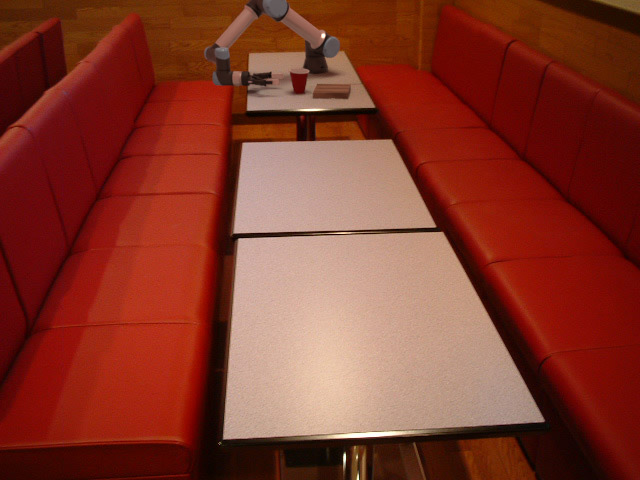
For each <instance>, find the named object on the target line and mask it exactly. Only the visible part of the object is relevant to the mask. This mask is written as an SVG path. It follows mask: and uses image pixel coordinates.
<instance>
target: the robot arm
mask: <svg viewBox="0 0 640 480" xmlns="http://www.w3.org/2000/svg"><path fill="white" fill-rule="evenodd" d="M290 5H291V4H290V3H289V2H288V1H287V0H248V1H247V3H246V4H245V5H244V8H243V10H242V11H241V12H240V13H239V14H238V15H237V16H236V18H235V19H234V20H233V21H232V23H231V24H230V25H229V26H228V27H227V28H226V29H225V30H224V32H222V34H221V35H220V36H219V37H218V38H217V40H216V41H215V42H214V43H213V44H212V46H208V47H205V49H204V52H203V55H204V58H205V59H206V60H207V62H210V63H213V64H215V67H216V69H215V70H214V71H213V73H212V83H213V84H214V85H215V86H222V87H223V86H226V87H227V86H228V87H230V86H232V87H233V86H235V87H237V88H238V87H240V86H243V87H250V85H253V86H254V85H255V86H260V87H267V86H279V85H280V79H281V80H282V79H284V78H285V77H284V76H285V75H284V73H283V72H281V73H280V72H278V73H277V72H272V71H269V72H268V71H267V72H258V73H257V72H256V73H254V72H253V74H251V73H250V71H248V70H246V71H244V70H243V71H241V70H239V71H236V70H234V71H232V70H231V56H230V50H229V49H230V48H231V47H232V46H233V44H235V42H237V40H238V39H239V38H240V37H241V35H242V34H243V33H244V32H245V31H246V30H247V28H249V27H250V25H251V24H252V23H253V22H254V21H255V20H258V19H259V18H260V17H261V16H263V15H266V16H268V17H269V18H271V19H272V20H273V21H275V22H276V23H280V22H281V23H282V24H283V25H285V26H286V27H288V28H289V29H291V30H292V31H293V32H294V33H296V34H297V35H298V36H299V37H301V38H303V39H304V50H305V51H304V52H305V56H304V57H305V58H304V61H303V65H302V69H307V70H309V73H310V74H323V73H327V72H328V71H329V65H328V61H327V59H326V58H329V59H332V58H335V57H336V56H337V55H338V54H339V52H340V48H341V43H340V42H341V41H340V40H339V39H338V38H337V37H336V36H332V35H330V34H329V33H328V32H327V31H325V30H324V29H318V28H317V27H315V26H314V25H313V24H312V23H310V22H309V21H308V20H307V19H305V18H304V17H303V16H301V15H300V14H299V13H297V12H296V11H295V10H294V9H292V8H291V6H290ZM309 73H308V74H309Z"/></svg>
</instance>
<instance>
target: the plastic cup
mask: <svg viewBox="0 0 640 480" xmlns="http://www.w3.org/2000/svg"><path fill="white" fill-rule="evenodd" d="M288 72H289V76H290V78H291V79H290V80H291V85H292V89H293V93H294V94H297V95H298V94H299V95H300V94H301V95H303V94H305V93H306V87H307V81H308V75H309V70H307V69H303V67H302V68H301V67H299V68H298V67H296V68H295V67H293V68H290V69H288Z"/></svg>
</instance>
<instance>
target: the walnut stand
mask: <svg viewBox="0 0 640 480" xmlns="http://www.w3.org/2000/svg"><path fill="white" fill-rule="evenodd" d="M351 87H352V85H351V84H350V83H316V86H314V90H313V92H312V98H313V99H323V100H326V99H327V100H329V98H330V99H331V98H335V99H336V100H341V99H342V100H346V99H347V100H348V99H349V97H350V93H351V90H352V88H351ZM335 99H334V100H335Z"/></svg>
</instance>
